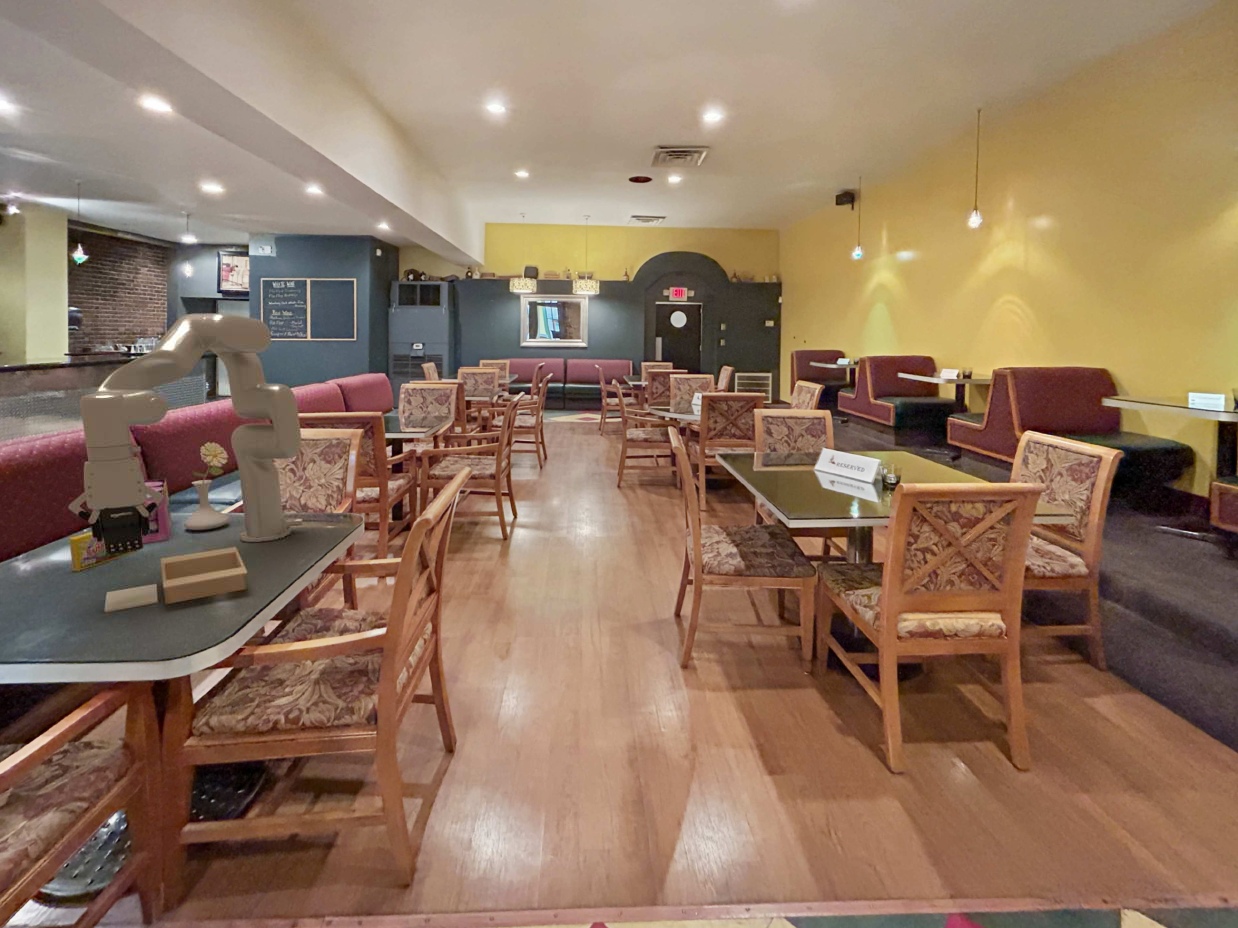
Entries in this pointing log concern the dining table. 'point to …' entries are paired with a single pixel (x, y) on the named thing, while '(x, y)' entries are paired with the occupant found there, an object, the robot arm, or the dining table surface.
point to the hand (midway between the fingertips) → (122, 536)
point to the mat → (131, 597)
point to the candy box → (89, 552)
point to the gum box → (158, 513)
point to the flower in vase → (205, 513)
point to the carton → (203, 574)
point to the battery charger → (121, 529)
